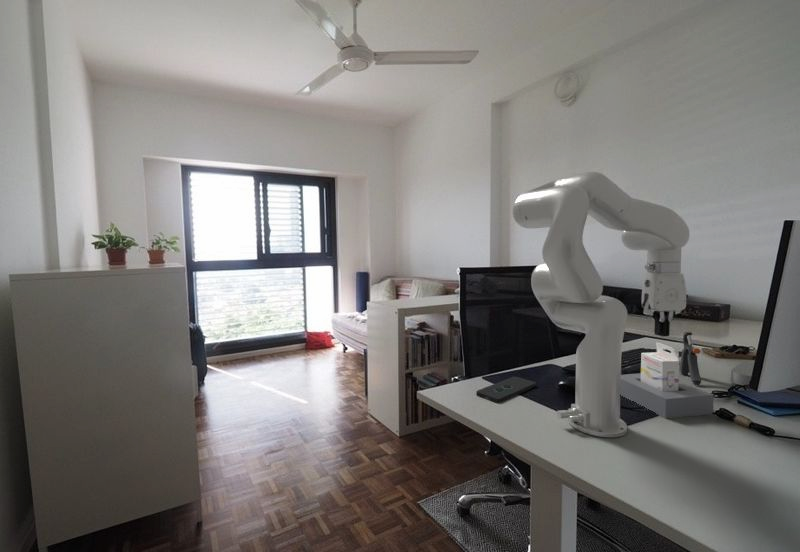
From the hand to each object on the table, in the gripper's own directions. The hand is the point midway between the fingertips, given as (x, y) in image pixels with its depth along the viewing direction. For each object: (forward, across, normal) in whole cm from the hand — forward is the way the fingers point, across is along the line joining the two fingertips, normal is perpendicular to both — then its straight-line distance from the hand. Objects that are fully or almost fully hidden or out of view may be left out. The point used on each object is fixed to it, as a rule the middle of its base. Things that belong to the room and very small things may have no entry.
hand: (661, 335), depth 102 cm
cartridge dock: (+19, 0, 0) cm, 19 cm away
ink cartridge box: (+18, 0, 0) cm, 18 cm away
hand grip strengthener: (+19, +24, +13) cm, 33 cm away
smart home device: (+19, -37, +16) cm, 45 cm away
